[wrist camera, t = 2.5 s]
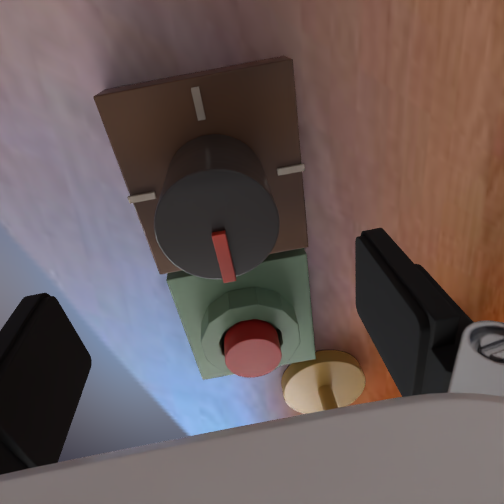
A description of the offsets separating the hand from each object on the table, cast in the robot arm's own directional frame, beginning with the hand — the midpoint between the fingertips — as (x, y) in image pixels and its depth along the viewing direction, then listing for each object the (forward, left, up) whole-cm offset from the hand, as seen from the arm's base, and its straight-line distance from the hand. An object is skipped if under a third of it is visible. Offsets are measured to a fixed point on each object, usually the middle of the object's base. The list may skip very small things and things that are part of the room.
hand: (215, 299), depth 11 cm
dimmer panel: (0, 0, -11) cm, 11 cm away
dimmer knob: (0, 0, -9) cm, 9 cm away
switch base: (+11, 0, -11) cm, 15 cm away
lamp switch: (+11, 0, -8) cm, 13 cm away
